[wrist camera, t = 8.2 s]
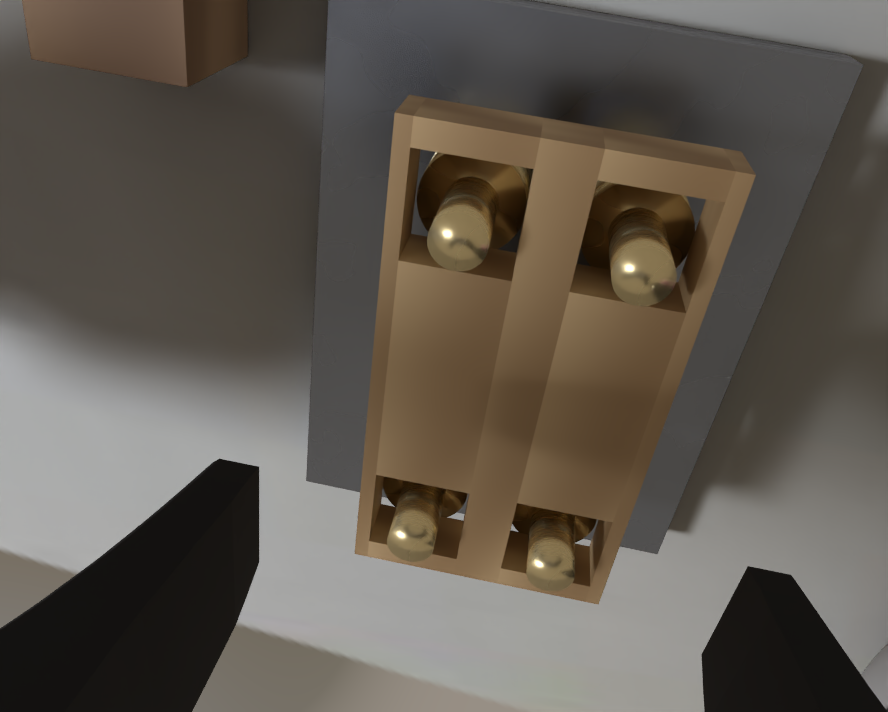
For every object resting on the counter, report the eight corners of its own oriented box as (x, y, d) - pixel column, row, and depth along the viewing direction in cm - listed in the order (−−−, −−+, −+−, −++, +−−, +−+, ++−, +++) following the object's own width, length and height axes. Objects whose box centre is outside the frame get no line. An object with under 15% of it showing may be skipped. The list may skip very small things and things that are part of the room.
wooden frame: (366, 516, 18) (354, 553, 17) (409, 94, 13) (394, 113, 12) (596, 563, 18) (598, 604, 17) (741, 151, 12) (756, 175, 11)
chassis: (316, 458, 22) (251, 602, 18) (343, -32, 15) (245, 3, 11) (654, 528, 22) (674, 694, 17) (846, 54, 14) (965, 129, 10)
